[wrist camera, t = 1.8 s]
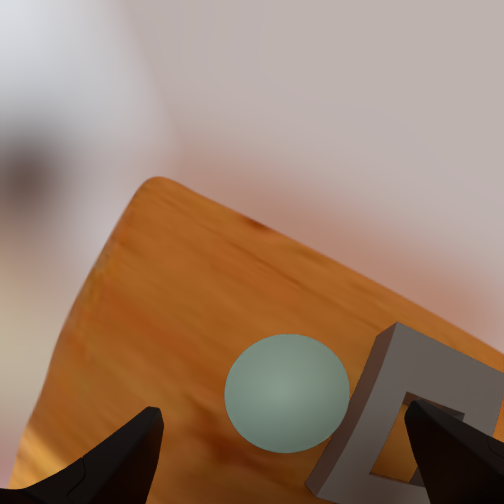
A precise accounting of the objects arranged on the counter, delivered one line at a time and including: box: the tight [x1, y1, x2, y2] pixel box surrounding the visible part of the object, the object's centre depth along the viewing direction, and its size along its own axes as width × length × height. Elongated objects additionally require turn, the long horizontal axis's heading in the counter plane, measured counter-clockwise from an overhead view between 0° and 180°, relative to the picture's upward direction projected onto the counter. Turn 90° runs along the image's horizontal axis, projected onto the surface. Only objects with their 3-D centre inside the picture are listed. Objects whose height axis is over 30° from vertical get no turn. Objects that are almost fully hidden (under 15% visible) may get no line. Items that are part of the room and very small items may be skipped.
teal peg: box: [224, 334, 350, 453], centre depth 15 cm, size 5×5×12 cm
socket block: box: [305, 322, 504, 504], centre depth 16 cm, size 14×14×4 cm
